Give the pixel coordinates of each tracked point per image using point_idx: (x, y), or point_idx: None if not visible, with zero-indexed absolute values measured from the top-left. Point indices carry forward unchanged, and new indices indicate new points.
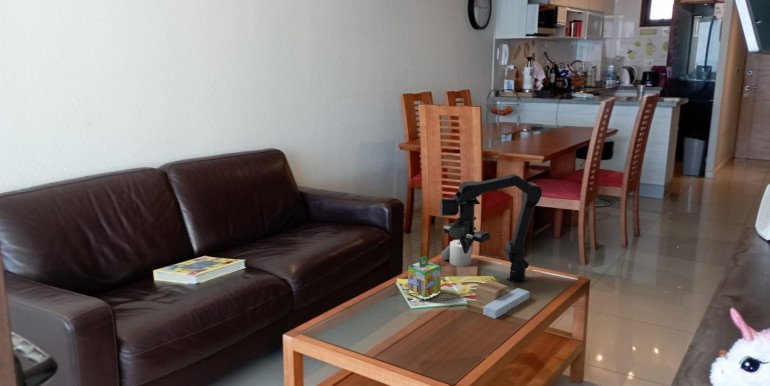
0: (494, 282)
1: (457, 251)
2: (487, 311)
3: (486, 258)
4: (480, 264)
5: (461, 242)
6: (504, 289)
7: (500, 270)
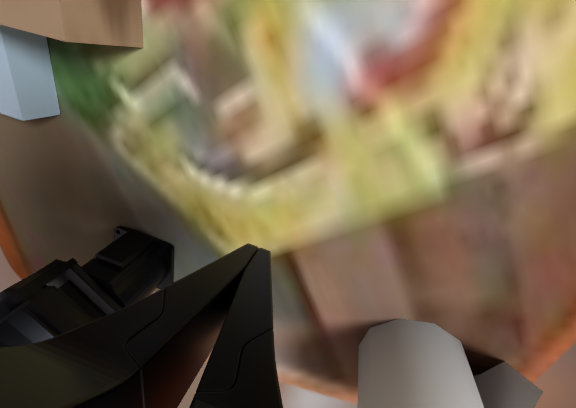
0: (20, 24)
1: (429, 396)
2: None
3: (320, 392)
4: (321, 347)
5: (246, 379)
6: None
7: None
